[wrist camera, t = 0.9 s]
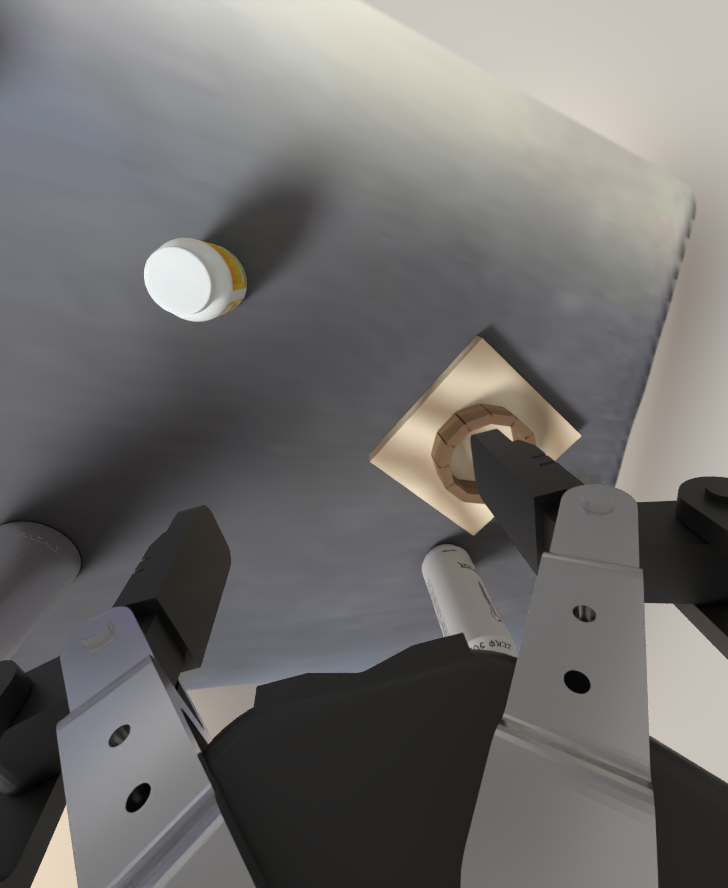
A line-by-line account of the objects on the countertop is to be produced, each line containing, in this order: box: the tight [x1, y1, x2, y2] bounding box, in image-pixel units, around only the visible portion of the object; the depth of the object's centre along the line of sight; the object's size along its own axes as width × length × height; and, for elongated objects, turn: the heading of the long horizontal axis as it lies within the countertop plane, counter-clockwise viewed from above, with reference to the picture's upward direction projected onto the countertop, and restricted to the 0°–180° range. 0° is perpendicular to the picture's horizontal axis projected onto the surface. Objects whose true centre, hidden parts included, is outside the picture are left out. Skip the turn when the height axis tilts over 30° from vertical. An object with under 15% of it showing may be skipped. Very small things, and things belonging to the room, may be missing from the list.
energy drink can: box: [422, 544, 516, 657], centre depth 41 cm, size 6×6×15 cm
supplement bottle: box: [144, 238, 247, 321], centre depth 28 cm, size 5×5×10 cm
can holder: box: [368, 335, 581, 536], centre depth 40 cm, size 16×16×4 cm
